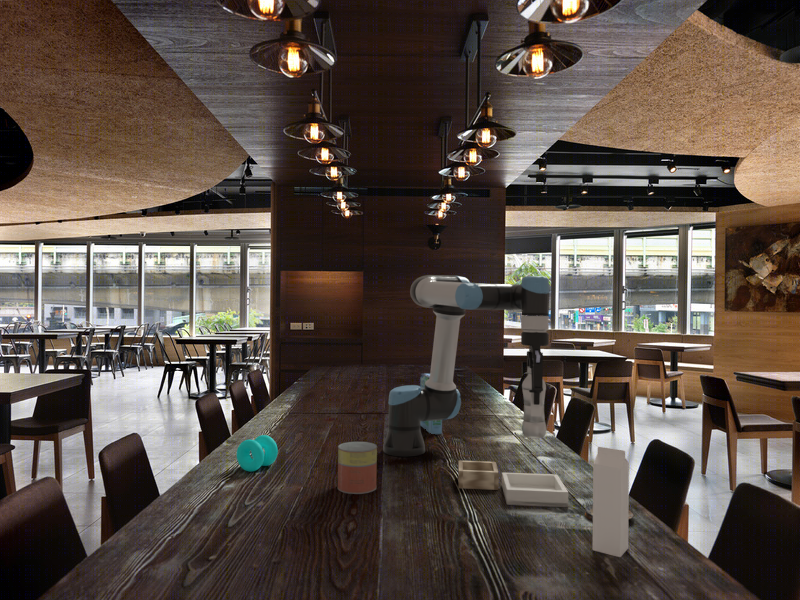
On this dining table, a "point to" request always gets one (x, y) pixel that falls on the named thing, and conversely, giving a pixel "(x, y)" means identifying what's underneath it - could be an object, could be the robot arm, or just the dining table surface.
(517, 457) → the dining table surface
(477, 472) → the wooden collar
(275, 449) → the turquoise yo-yo
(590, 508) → the patterned ceramic bowl
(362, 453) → the canned food
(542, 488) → the plastic tray
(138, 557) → the dining table surface
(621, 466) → the milk
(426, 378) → the gum box
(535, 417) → the plastic bottle
